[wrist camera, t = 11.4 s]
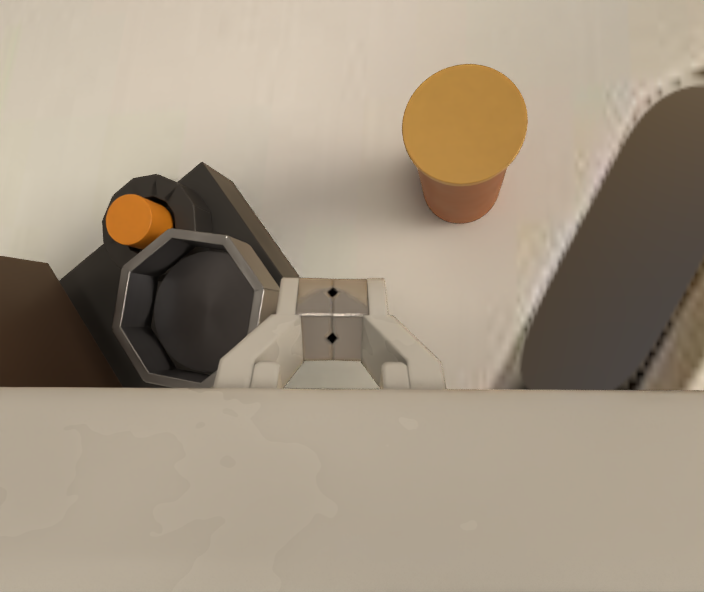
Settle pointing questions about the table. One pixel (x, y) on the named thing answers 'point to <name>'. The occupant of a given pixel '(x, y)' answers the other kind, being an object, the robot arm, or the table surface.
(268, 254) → the base
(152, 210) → the power button
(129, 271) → the coffee maker
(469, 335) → the table surface
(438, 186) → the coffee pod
